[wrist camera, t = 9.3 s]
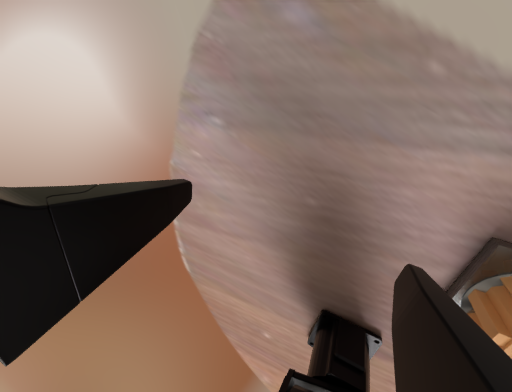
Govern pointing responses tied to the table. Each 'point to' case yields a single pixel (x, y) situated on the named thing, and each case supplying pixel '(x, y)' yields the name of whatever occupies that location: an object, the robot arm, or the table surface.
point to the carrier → (483, 272)
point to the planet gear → (495, 313)
